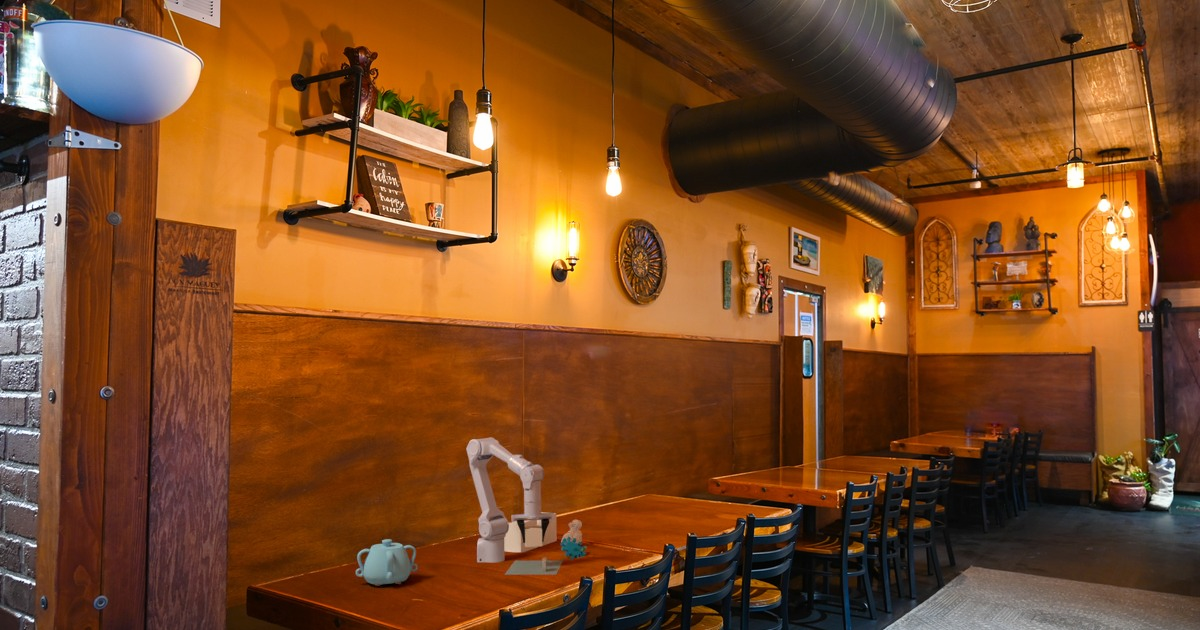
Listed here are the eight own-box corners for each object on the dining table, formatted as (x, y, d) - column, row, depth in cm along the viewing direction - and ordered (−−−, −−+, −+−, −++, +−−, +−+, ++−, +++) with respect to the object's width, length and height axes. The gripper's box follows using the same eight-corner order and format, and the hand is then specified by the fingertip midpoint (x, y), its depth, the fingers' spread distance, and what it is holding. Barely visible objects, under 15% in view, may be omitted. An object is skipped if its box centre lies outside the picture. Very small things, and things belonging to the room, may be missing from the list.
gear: (568, 559, 291) (558, 535, 298) (560, 569, 294) (550, 545, 300) (593, 559, 298) (583, 535, 304) (585, 569, 300) (575, 545, 307)
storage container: (520, 553, 310) (520, 523, 311) (496, 551, 316) (496, 521, 316) (556, 541, 332) (556, 513, 333) (533, 539, 337) (533, 511, 338)
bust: (565, 555, 315) (580, 532, 313) (551, 541, 318) (566, 519, 316) (581, 549, 326) (596, 527, 323) (568, 535, 329) (582, 514, 326)
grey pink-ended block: (542, 571, 275) (541, 559, 275) (543, 569, 278) (543, 557, 278) (545, 571, 275) (545, 559, 275) (546, 569, 278) (546, 557, 278)
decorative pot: (349, 585, 267) (349, 542, 268) (386, 574, 281) (386, 533, 282) (386, 591, 259) (386, 547, 259) (422, 579, 272) (422, 537, 273)
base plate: (504, 578, 272) (504, 574, 272) (514, 564, 292) (514, 560, 292) (556, 578, 271) (556, 574, 271) (563, 564, 291) (563, 560, 291)
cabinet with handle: (525, 547, 280) (525, 529, 280) (524, 543, 285) (524, 526, 286) (542, 546, 281) (541, 528, 281) (540, 543, 286) (540, 525, 286)
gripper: (511, 504, 279) (512, 545, 278) (554, 502, 281) (555, 543, 280) (510, 501, 286) (511, 541, 285) (553, 499, 288) (553, 539, 287)
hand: (533, 541), depth 283 cm, fingers closed on cabinet with handle, 6 cm apart
